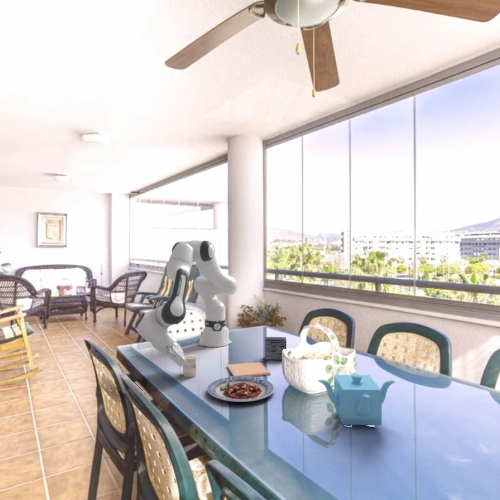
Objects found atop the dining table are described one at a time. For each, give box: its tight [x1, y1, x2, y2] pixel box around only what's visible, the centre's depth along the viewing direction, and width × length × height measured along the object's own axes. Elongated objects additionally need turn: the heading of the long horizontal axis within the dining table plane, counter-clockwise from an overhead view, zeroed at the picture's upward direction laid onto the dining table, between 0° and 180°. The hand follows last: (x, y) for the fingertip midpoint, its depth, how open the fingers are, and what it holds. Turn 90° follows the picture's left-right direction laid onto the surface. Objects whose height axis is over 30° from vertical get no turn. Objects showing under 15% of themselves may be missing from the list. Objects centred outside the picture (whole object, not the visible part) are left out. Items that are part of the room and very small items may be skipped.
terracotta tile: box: [226, 361, 271, 377], centre depth 176 cm, size 16×16×1 cm
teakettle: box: [317, 373, 397, 426], centre depth 126 cm, size 19×19×15 cm
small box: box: [264, 336, 287, 362], centre depth 194 cm, size 11×6×10 cm, turn 84°
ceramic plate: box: [207, 375, 276, 403], centre depth 150 cm, size 26×26×3 cm
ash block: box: [182, 354, 197, 378], centre depth 170 cm, size 5×5×8 cm
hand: (189, 364), depth 170 cm, fingers open, 8 cm apart
